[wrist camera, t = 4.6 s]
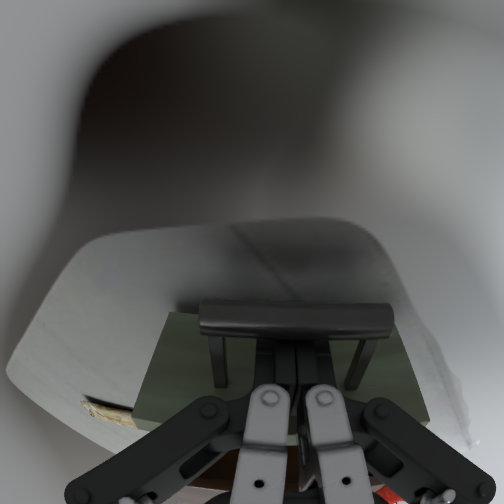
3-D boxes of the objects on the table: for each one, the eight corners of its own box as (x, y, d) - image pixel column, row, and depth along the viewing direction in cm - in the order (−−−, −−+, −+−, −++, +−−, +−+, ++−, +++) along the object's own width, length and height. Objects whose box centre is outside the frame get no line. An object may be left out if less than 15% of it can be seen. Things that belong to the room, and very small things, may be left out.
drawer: (157, 236, 15) (90, 341, 8) (417, 248, 14) (484, 348, 8) (194, 415, 23) (180, 488, 17) (346, 420, 23) (354, 492, 16)
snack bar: (162, 419, 25) (166, 439, 25) (166, 410, 26) (169, 430, 27) (79, 400, 25) (85, 420, 25) (85, 393, 26) (91, 413, 27)
